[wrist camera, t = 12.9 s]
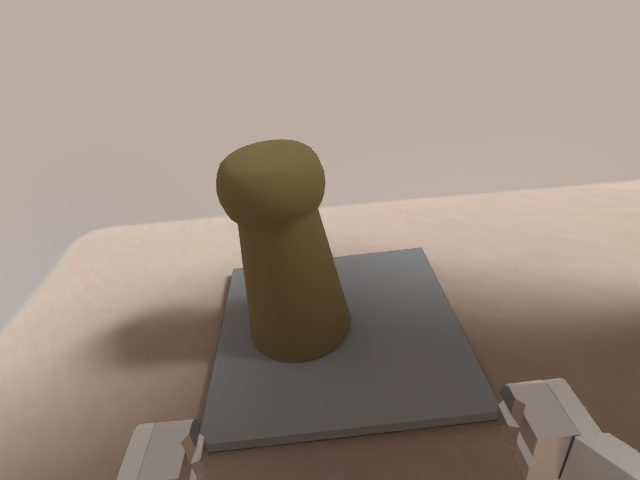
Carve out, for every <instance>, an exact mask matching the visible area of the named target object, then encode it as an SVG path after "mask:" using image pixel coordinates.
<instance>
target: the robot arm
mask: <svg viewBox="0 0 640 480" xmlns="http://www.w3.org/2000/svg"><path fill="white" fill-rule="evenodd" d="M500 394H501V396H502V398H503V401H502V402H501V403H499V404H498V410H497V416H498V424H499V427H500V430H501V433H502V435H503V437H504V439H505V441H506V442H507V443H508V444H510V445H511V446H512V447H514V448H515V451H514V456H513V459H514V461H515V463H516V465H517V467H518V469H519V471H520V473H521V475H522V477H523V479H524V480H640V452H638V451H637V450H635V449H634V448H632V447H630V446H629V445H627V444H626V443H624V442H623V441H621V440H619V439H618V438H616V437H615V436H613V435H612V434H610V433H602V431H601V430H600V428H599V427H598V426H597V424H596V423H595V421H594V420H593V418H592V417H591V416H590V414H589V413H588V411H587V410H586V409H585V407H584V406H583V404H582V403H581V401H580V400H579V399H578V397H577V396H576V394H575V393H574V392H573V390H572V389H571V387H570V386H569V384H568V383H567V382H566V381H565V380H564V379H562V378H555V379H547V380H534V381H526V382H518V383H510V384H504V385H503V386H502V388H501V393H500ZM199 431H200V424H199V422H198V420H197V419H190V420H178V421H167V422H155V423H146V424H138V426H137V427H136V429H135V430H134V432H133V434H132V437H131V440H130V443H129V445H128V448H127V451H126V454H125V457H124V459H123V462H122V465H121V468H120V470H119V473H118V476H117V479H116V480H202V478H203V477H204V476H205V475H206V470H207V464H208V448H207V443H206V440H205V437H204V436H202V435H200V434H199Z"/></svg>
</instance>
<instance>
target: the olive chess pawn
mask: <svg viewBox="0 0 640 480" xmlns="http://www.w3.org/2000/svg"><path fill="white" fill-rule="evenodd" d="M216 188H217V195H218V198H219V201H220V204H221V205H222V207H223V208H224V210H225V212H226V213H227V215H228V216H229V217H230V219H231V220H233V221H234V222H236V223H237V224H238V229H239V237H240V245H241V253H242V262H243V270H244V278H245V287H246V295H247V303H248V311H249V320H250V328H251V336H252V340H253V342H254V344H255V346H256V348H257V350H259V351H260V352H261V353H263V354H264V355H265V356H267V357H268V358H271V359H274V360H278V361H281V362H304V361H308V360H313V359H317V358H319V357H321V356H323V355H325V354H327V353H329V352H331V351H332V350H333V349H335V348H336V347H337V346H338V345H339V344H340V343H341V342H342V341H343V340H344V338H345V337H346V335H347V333H348V331H349V330H350V323H351V316H350V313H349V309H348V306H347V303H346V300H345V296H344V293H343V290H342V286H341V283H340V280H339V276H338V273H337V270H336V267H335V263H334V260H333V257H332V253H331V250H330V247H329V243H328V240H327V237H326V234H325V230H324V227H323V224H322V220H321V217H320V214H319V210H318V207H319V205H320V203H321V202H322V198H323V195H324V189H325V175H324V170H323V167H322V165H321V163H320V160H319V158H318V156H317V154H316V153H315V152H314V151H313V150H312V149H311V148H310V147H309V146H307V145H305V144H303V143H301V142H298V141H293V140H282V139H280V140H268V141H262V142H257V143H254V144H250V145H247V146H245V147H242V148H240V149H237V150H236V151H234V152H232V153H231V154H230V155H228V156H227V157H226V158H225V159H224V160H223V161H222V163H221V164H220V166H219V170H218V173H217V179H216Z"/></svg>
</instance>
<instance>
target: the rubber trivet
mask: <svg viewBox="0 0 640 480" xmlns="http://www.w3.org/2000/svg"><path fill="white" fill-rule="evenodd" d="M333 260H334V263H335V267H336V270H337V273H338V276H339V280H340V283H341V286H342V290H343V293H344V296H345V300H346V303H347V306H348V309H349V313H350V316H351V323H350V330H349V331H348V333H347V335H346V337H345V338H344V340H343V341H342V342H341V343H340V344H339V345H338V346H337V347H336V348H335V349H333V350H332V351H331V352H329V353H327V354H325V355H323V356H321V357H319V358H317V359H313V360H308V361H304V362H281V361H278V360H274V359H271V358H268V357H267V356H265V355H264V354H263V353H261V352H260V351H259V350H257V348H256V346H255V344H254V342H253V340H252V336H251V328H250V320H249V311H248V303H247V295H246V287H245V278H244V270H243V268H237V269H233V273H232V278H231V282H230V287H229V292H228V297H227V302H226V307H225V312H224V317H223V322H222V327H221V332H220V337H219V341H218V346H217V351H216V356H215V361H214V366H213V371H212V376H211V381H210V386H209V391H208V396H207V400H206V405H205V410H204V415H203V420H202V425H201V430H200V435H202V436H204V437H205V440H206V443H207V448H208V453H209V452H218V451H227V450H235V449H244V448H253V447H262V446H271V445H279V444H288V443H297V442H306V441H315V440H323V439H332V438H341V437H350V436H358V435H367V434H376V433H385V432H394V431H402V430H411V429H420V428H429V427H438V426H446V425H455V424H464V423H473V422H482V421H490V420H498V416H497V410H498V404H499V402H498V400H497V398H496V396H495V394H494V392H493V390H492V388H491V386H490V384H489V382H488V380H487V378H486V376H485V374H484V372H483V370H482V368H481V366H480V364H479V362H478V360H477V358H476V356H475V354H474V352H473V350H472V348H471V346H470V344H469V342H468V340H467V338H466V336H465V334H464V332H463V330H462V328H461V326H460V324H459V322H458V320H457V318H456V316H455V314H454V312H453V310H452V308H451V306H450V304H449V302H448V300H447V298H446V296H445V293H444V291H443V289H442V287H441V285H440V283H439V281H438V279H437V277H436V275H435V273H434V271H433V269H432V267H431V265H430V263H429V261H428V259H427V257H426V255H425V253H424V251H423V249H422V248H413V249H404V250H395V251H386V252H378V253H369V254H360V255H351V256H343V257H334V258H333Z"/></svg>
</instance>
